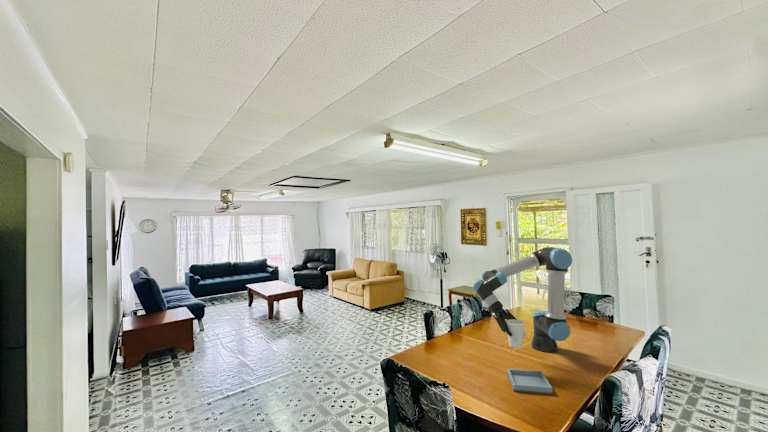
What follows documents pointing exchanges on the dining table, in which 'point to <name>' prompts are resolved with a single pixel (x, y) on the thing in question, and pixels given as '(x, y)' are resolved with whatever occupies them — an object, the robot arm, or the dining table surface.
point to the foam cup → (516, 332)
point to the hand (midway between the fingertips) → (520, 338)
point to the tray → (529, 381)
